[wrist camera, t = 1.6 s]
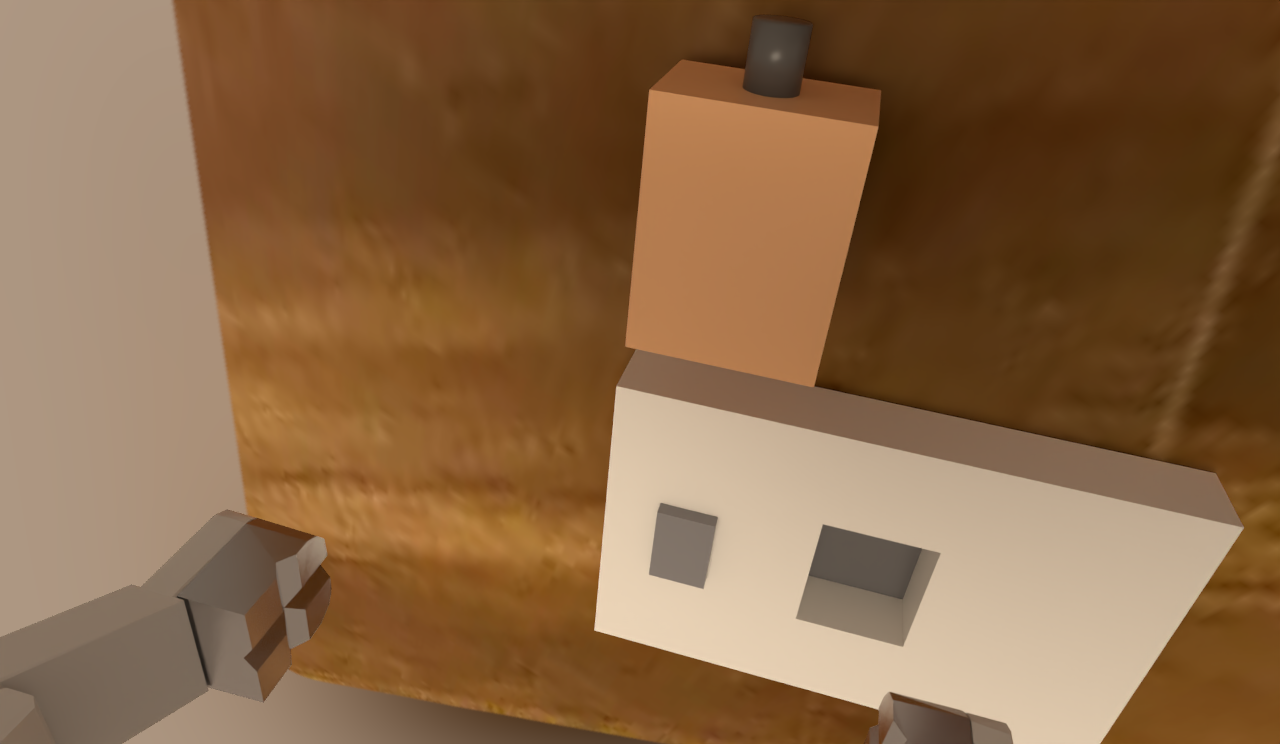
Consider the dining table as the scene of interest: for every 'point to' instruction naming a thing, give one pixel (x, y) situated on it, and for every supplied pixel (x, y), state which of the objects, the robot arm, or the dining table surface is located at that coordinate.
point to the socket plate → (896, 548)
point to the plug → (748, 207)
